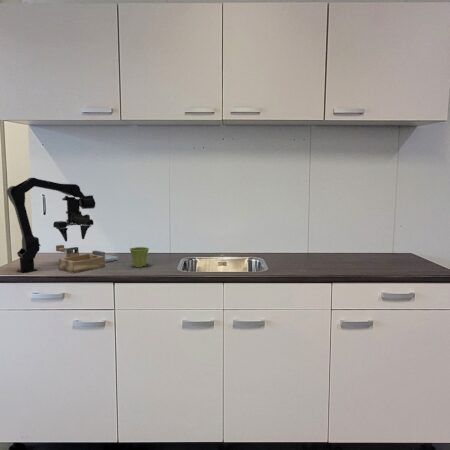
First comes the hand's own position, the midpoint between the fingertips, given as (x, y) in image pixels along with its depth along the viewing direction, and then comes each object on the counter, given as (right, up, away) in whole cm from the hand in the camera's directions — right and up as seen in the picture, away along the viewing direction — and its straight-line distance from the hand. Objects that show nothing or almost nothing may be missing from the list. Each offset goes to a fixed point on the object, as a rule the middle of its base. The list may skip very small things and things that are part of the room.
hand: (74, 240), depth 184 cm
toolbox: (+6, -13, -7) cm, 16 cm away
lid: (+9, -11, +10) cm, 17 cm away
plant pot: (+34, -13, -4) cm, 36 cm away
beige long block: (-5, -6, 0) cm, 8 cm away
